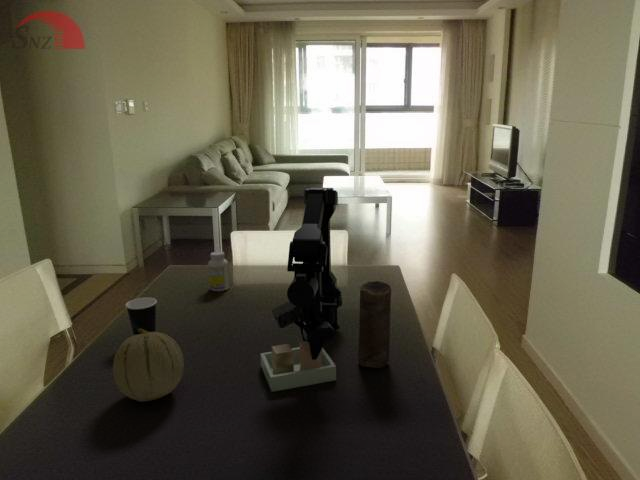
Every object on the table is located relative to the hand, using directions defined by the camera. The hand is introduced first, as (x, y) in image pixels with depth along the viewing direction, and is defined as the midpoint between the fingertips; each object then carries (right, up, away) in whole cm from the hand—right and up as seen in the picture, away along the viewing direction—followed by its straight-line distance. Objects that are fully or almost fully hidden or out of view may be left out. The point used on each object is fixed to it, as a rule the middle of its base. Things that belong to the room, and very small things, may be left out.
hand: (310, 353), depth 121 cm
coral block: (0, -4, +1) cm, 4 cm away
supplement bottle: (-32, +9, +58) cm, 68 cm away
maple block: (-6, -4, -1) cm, 8 cm away
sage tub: (-3, -5, 0) cm, 6 cm away
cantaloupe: (-34, -8, -8) cm, 36 cm away
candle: (+15, -4, +3) cm, 16 cm away
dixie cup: (-45, -1, +19) cm, 49 cm away
